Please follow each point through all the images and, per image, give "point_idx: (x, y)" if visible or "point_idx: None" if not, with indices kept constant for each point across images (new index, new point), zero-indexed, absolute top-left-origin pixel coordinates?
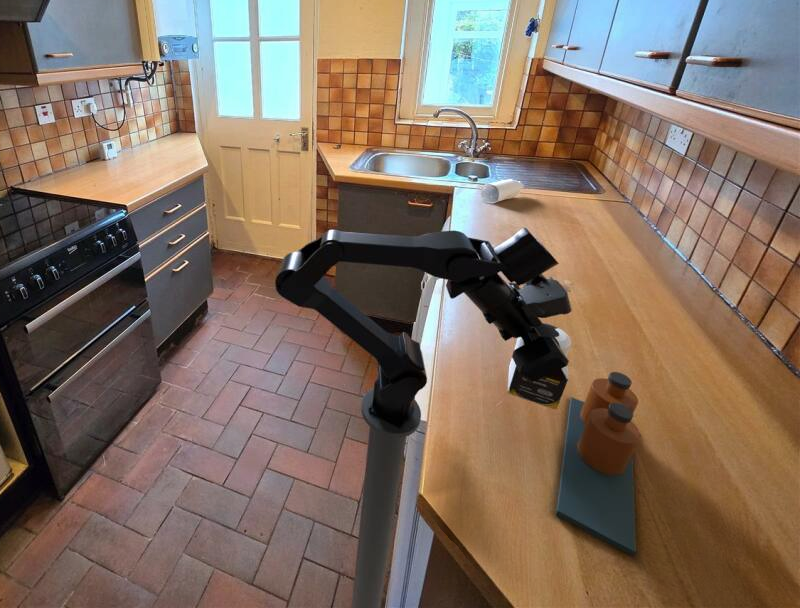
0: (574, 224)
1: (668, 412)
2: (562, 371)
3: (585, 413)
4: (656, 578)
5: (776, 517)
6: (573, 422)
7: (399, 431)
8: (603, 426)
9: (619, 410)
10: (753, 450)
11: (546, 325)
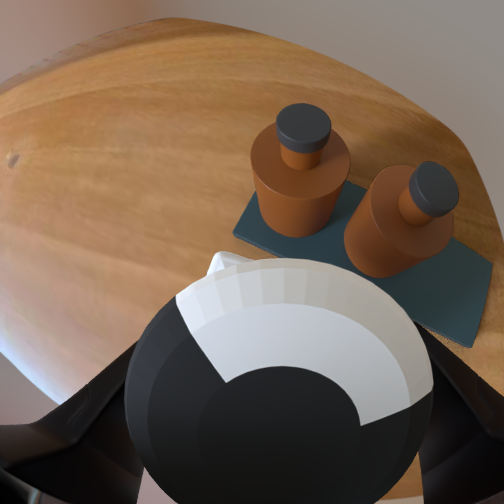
0: None
1: (239, 100)
2: (457, 358)
3: (301, 230)
4: (496, 252)
5: (380, 88)
6: (306, 257)
7: None
8: (428, 236)
9: (442, 189)
10: (288, 58)
11: (172, 426)
